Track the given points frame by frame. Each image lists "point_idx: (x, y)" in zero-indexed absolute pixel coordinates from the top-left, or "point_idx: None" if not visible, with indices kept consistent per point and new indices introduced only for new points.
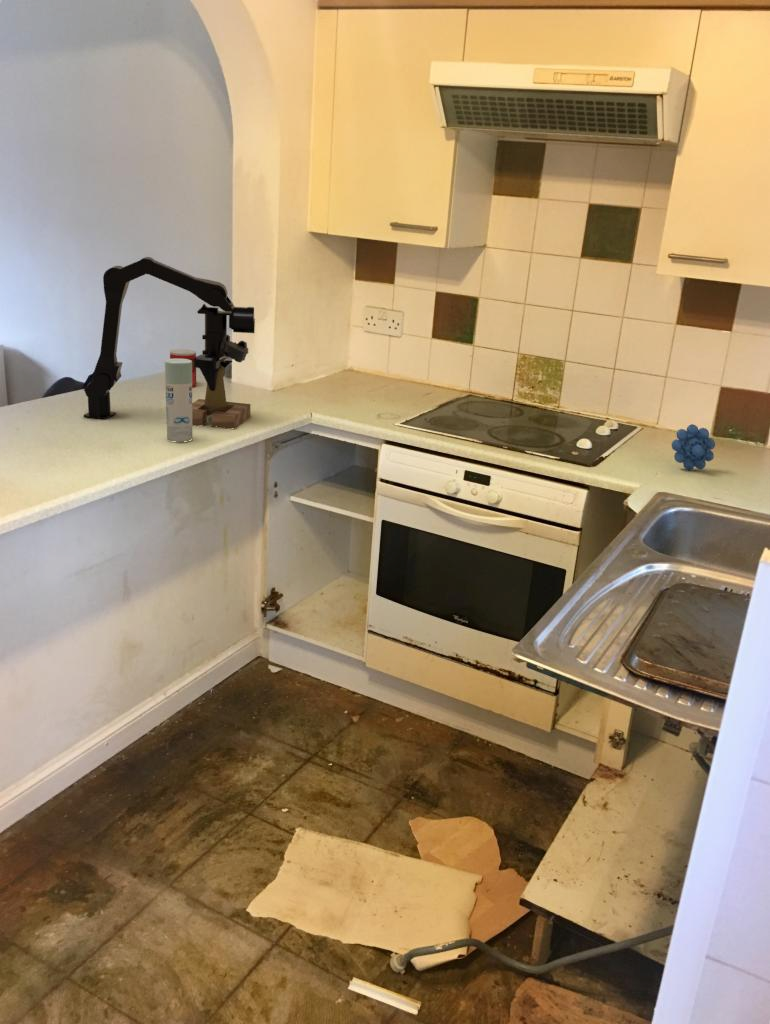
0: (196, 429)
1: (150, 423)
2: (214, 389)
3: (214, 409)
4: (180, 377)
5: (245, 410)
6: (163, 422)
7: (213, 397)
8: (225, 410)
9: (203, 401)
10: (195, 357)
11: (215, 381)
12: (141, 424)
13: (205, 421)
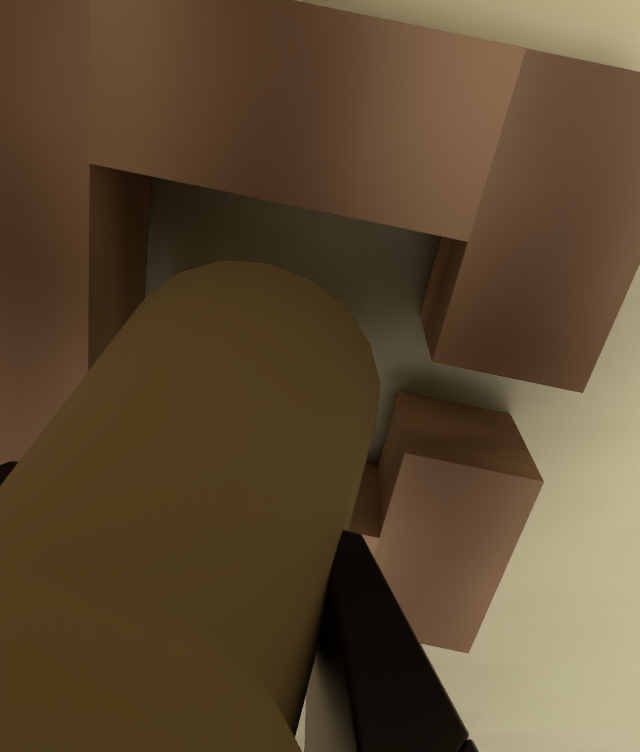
0: (627, 446)
1: (466, 710)
2: (362, 544)
3: None
4: None
5: None
6: (430, 654)
7: (361, 471)
8: (119, 269)
9: None
10: None
11: (416, 682)
12: (496, 745)
13: (434, 408)
